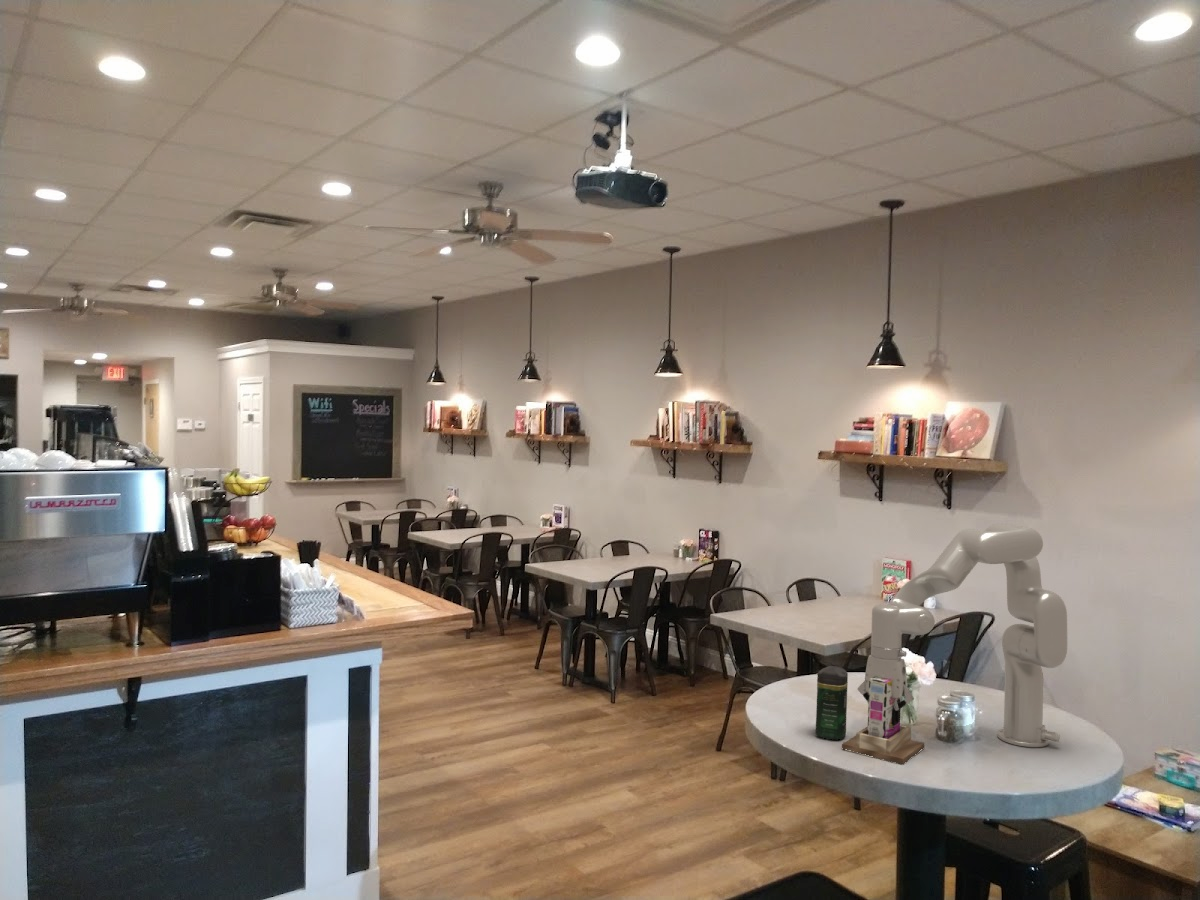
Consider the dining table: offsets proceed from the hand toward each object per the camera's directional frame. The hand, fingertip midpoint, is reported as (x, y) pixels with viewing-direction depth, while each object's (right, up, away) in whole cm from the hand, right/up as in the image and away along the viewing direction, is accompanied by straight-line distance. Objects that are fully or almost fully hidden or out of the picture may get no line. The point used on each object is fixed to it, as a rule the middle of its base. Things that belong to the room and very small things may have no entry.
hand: (884, 721), depth 229 cm
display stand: (0, -7, 0) cm, 7 cm away
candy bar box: (0, -5, 0) cm, 5 cm away
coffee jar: (-11, -7, +10) cm, 17 cm away
